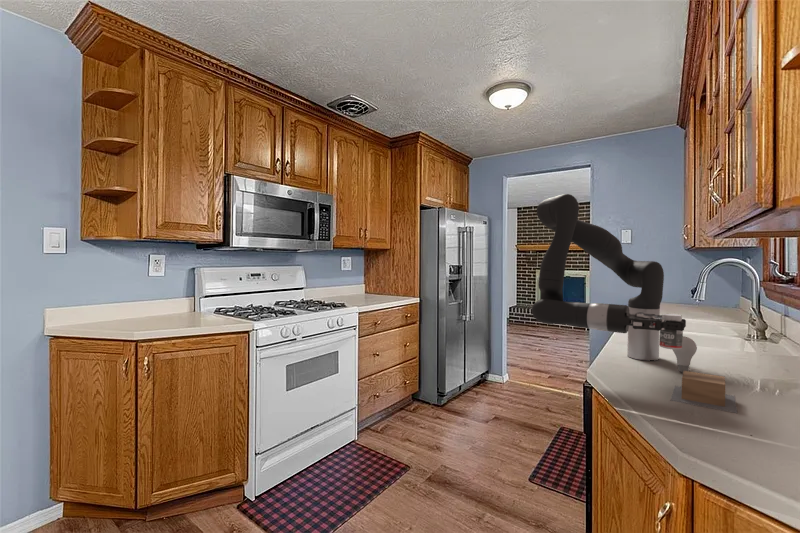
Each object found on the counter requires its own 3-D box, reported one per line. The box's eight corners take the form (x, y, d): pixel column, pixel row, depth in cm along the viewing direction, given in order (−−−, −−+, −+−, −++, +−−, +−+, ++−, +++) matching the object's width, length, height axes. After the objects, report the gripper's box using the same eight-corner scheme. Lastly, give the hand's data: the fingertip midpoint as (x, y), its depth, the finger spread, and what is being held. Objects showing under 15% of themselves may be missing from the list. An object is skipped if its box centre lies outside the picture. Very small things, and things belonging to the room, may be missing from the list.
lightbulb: (665, 371, 118) (666, 335, 117) (680, 369, 120) (681, 334, 119) (686, 377, 112) (687, 339, 112) (701, 375, 114) (702, 337, 114)
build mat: (674, 387, 103) (674, 385, 103) (734, 397, 96) (734, 395, 96) (670, 401, 92) (670, 400, 92) (737, 414, 85) (737, 413, 85)
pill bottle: (655, 346, 99) (656, 313, 99) (667, 344, 101) (668, 312, 101) (674, 350, 95) (675, 316, 94) (686, 349, 97) (687, 315, 96)
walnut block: (683, 390, 100) (683, 370, 99) (724, 397, 95) (724, 376, 94) (681, 398, 93) (681, 377, 93) (725, 406, 88) (725, 384, 88)
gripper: (602, 306, 101) (683, 312, 90) (613, 301, 112) (687, 307, 101) (601, 335, 101) (682, 345, 90) (613, 327, 112) (686, 335, 102)
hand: (684, 324), depth 96 cm, fingers closed on pill bottle, 4 cm apart
